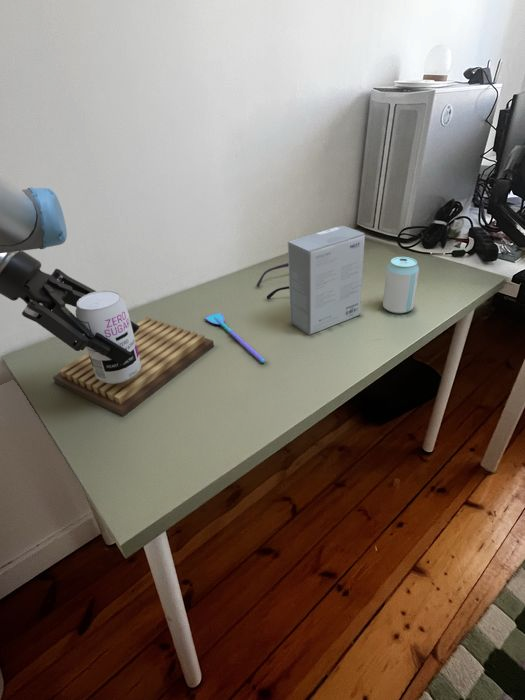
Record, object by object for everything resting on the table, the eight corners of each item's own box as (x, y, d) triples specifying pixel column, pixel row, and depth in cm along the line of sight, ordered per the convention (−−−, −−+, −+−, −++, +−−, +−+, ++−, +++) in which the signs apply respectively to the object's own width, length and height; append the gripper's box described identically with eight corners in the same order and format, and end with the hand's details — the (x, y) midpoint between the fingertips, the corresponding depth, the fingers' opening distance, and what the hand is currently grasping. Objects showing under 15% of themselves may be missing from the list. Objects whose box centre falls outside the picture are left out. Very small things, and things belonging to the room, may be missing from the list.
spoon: (202, 318, 105) (201, 314, 104) (217, 313, 107) (216, 309, 106) (260, 365, 88) (260, 360, 87) (276, 358, 89) (276, 353, 89)
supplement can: (108, 358, 84) (87, 288, 76) (148, 360, 83) (131, 289, 75) (88, 384, 77) (63, 310, 69) (132, 386, 76) (111, 312, 68)
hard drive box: (339, 303, 108) (343, 224, 97) (360, 315, 103) (368, 233, 92) (288, 322, 102) (287, 240, 90) (308, 336, 96) (309, 250, 85)
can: (376, 305, 106) (381, 259, 100) (399, 298, 109) (405, 253, 102) (395, 317, 101) (401, 269, 94) (419, 310, 103) (427, 263, 97)
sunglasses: (326, 292, 114) (327, 274, 111) (270, 303, 110) (270, 286, 107) (305, 273, 125) (306, 256, 122) (254, 283, 121) (253, 266, 118)
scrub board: (123, 416, 77) (119, 403, 75) (54, 382, 86) (50, 370, 85) (214, 346, 95) (212, 334, 93) (148, 324, 104) (146, 313, 103)
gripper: (19, 260, 78) (129, 329, 87) (-39, 317, 60) (107, 395, 70) (39, 228, 75) (150, 303, 85) (-15, 278, 57) (133, 365, 67)
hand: (131, 345), depth 77 cm, fingers closed on supplement can, 8 cm apart
